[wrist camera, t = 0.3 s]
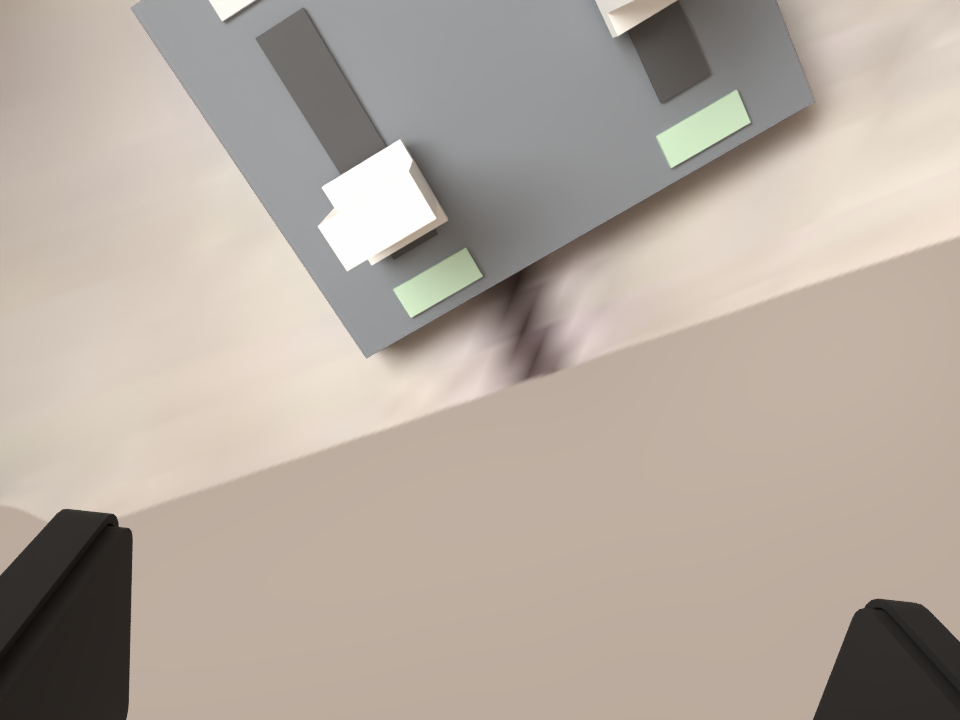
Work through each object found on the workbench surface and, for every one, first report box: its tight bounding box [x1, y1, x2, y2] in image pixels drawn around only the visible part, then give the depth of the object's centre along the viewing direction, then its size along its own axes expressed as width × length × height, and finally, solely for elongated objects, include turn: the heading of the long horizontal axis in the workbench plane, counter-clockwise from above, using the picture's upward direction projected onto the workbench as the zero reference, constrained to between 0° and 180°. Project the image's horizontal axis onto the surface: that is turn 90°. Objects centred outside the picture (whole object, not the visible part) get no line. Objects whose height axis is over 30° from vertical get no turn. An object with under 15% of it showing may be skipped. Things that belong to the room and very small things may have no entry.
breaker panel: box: [131, 0, 815, 358], centre depth 33 cm, size 24×18×2 cm
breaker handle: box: [318, 139, 448, 271], centre depth 31 cm, size 4×4×6 cm
